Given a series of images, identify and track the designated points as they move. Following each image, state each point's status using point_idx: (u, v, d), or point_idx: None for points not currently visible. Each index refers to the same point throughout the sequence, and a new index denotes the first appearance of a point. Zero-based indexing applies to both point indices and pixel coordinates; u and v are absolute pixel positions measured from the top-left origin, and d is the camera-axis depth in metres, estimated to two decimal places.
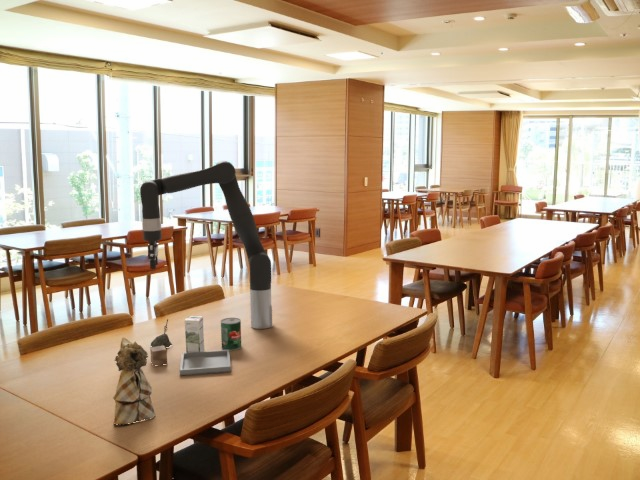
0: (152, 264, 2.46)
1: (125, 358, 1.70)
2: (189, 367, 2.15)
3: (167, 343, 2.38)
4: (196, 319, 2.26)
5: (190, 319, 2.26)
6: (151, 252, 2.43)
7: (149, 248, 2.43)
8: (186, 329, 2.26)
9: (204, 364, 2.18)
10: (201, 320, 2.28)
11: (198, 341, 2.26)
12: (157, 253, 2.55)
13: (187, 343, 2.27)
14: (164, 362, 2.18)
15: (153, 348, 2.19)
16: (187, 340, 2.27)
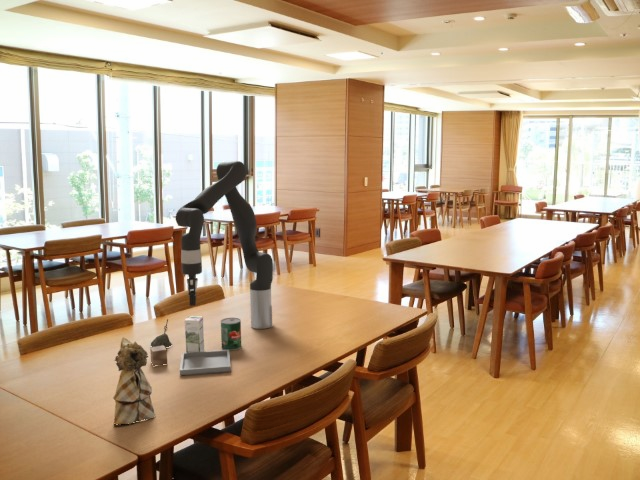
0: (192, 300, 2.21)
1: (125, 358, 1.70)
2: (189, 367, 2.15)
3: (167, 343, 2.38)
4: (196, 319, 2.26)
5: (190, 319, 2.26)
6: (191, 287, 2.19)
7: (189, 283, 2.19)
8: (186, 329, 2.26)
9: (204, 364, 2.18)
10: (201, 320, 2.28)
11: (198, 341, 2.26)
12: None
13: (187, 343, 2.27)
14: (164, 362, 2.18)
15: (153, 348, 2.19)
16: (187, 340, 2.27)
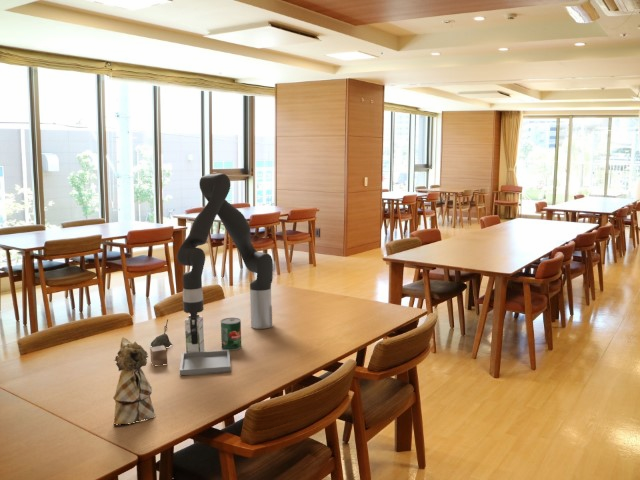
0: (194, 339, 2.25)
1: (125, 358, 1.70)
2: (189, 367, 2.15)
3: (167, 343, 2.38)
4: None
5: None
6: (193, 327, 2.22)
7: (191, 323, 2.21)
8: (186, 329, 2.26)
9: (204, 364, 2.18)
10: (201, 320, 2.28)
11: (198, 341, 2.26)
12: None
13: (187, 343, 2.27)
14: (164, 362, 2.18)
15: (153, 348, 2.19)
16: (187, 340, 2.27)
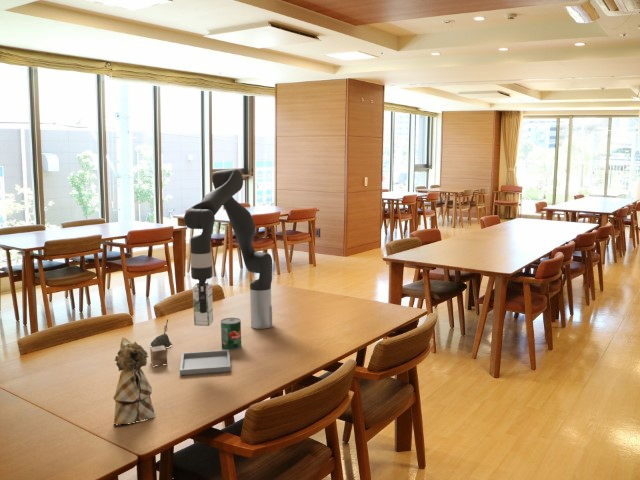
0: (202, 307, 2.10)
1: (125, 358, 1.70)
2: (189, 367, 2.15)
3: (167, 343, 2.38)
4: None
5: None
6: (202, 294, 2.07)
7: (200, 290, 2.07)
8: (194, 297, 2.12)
9: (204, 364, 2.18)
10: (210, 287, 2.14)
11: (207, 310, 2.12)
12: None
13: (195, 312, 2.12)
14: (164, 362, 2.18)
15: (153, 348, 2.19)
16: (195, 309, 2.12)
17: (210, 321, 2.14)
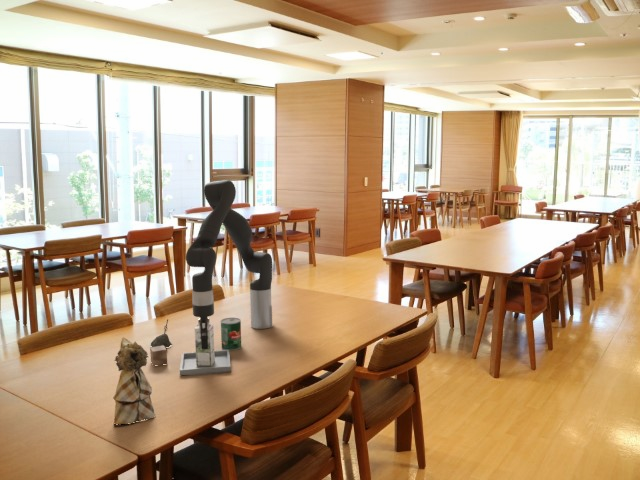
0: (204, 344, 2.12)
1: (125, 358, 1.70)
2: (189, 367, 2.15)
3: (167, 343, 2.38)
4: None
5: None
6: (203, 331, 2.09)
7: (201, 326, 2.09)
8: (196, 338, 2.14)
9: None
10: (212, 328, 2.16)
11: (209, 350, 2.14)
12: None
13: (197, 353, 2.15)
14: (164, 362, 2.18)
15: (153, 348, 2.19)
16: (197, 349, 2.14)
17: (212, 361, 2.16)
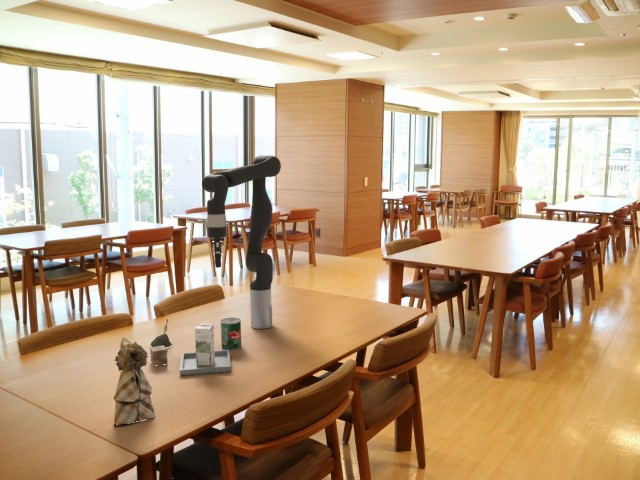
0: (218, 262, 2.33)
1: (125, 358, 1.70)
2: (189, 367, 2.15)
3: (167, 343, 2.38)
4: (207, 327, 2.14)
5: (200, 327, 2.14)
6: (217, 249, 2.30)
7: (215, 245, 2.30)
8: (196, 338, 2.14)
9: None
10: (212, 328, 2.16)
11: (209, 350, 2.14)
12: None
13: (197, 353, 2.15)
14: (164, 362, 2.18)
15: (153, 348, 2.19)
16: (197, 349, 2.14)
17: (212, 361, 2.16)
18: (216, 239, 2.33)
